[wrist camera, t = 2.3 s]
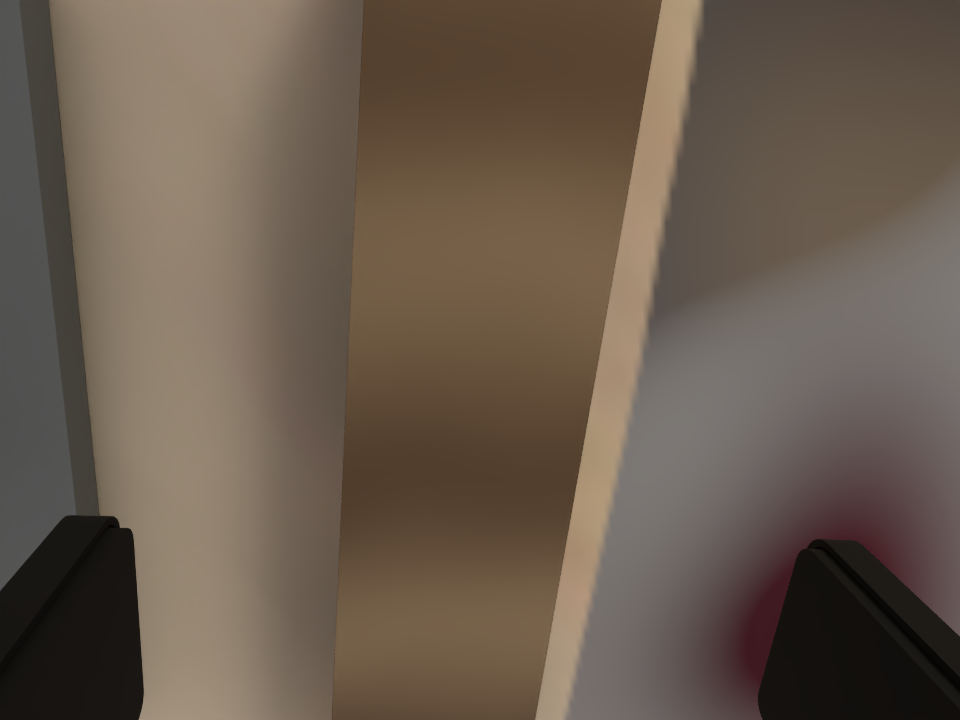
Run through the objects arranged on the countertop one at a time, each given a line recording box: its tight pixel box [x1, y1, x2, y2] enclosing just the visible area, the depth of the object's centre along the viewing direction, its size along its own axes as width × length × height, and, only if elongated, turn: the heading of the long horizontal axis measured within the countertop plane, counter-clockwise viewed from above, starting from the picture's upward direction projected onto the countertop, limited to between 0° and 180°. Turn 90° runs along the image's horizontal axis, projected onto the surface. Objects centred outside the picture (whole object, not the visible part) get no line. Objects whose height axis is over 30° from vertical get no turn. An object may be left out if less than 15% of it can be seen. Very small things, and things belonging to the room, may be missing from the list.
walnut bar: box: [332, 0, 662, 720], centre depth 14 cm, size 20×4×4 cm, turn 174°
